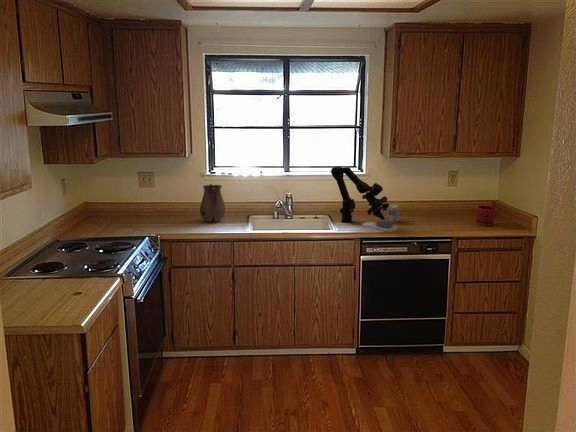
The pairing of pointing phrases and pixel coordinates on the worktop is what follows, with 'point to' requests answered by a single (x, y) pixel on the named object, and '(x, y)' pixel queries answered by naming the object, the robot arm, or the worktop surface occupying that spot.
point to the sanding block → (384, 222)
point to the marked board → (378, 227)
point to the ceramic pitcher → (212, 203)
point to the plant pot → (485, 215)
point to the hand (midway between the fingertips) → (385, 219)
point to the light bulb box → (393, 213)
